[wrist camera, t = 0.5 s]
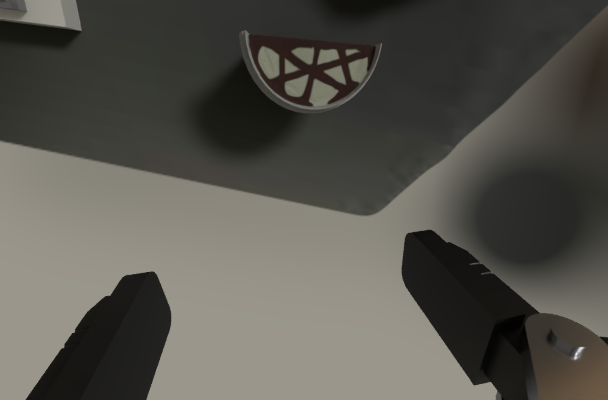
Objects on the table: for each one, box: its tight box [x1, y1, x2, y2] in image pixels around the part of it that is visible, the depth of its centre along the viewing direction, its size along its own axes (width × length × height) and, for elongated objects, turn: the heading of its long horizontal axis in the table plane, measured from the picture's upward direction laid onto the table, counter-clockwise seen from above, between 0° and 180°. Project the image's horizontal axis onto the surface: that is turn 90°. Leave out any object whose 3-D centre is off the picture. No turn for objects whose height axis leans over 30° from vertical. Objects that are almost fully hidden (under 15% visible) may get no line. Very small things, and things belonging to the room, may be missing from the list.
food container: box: [239, 31, 382, 113], centre depth 28 cm, size 12×6×10 cm, turn 86°
